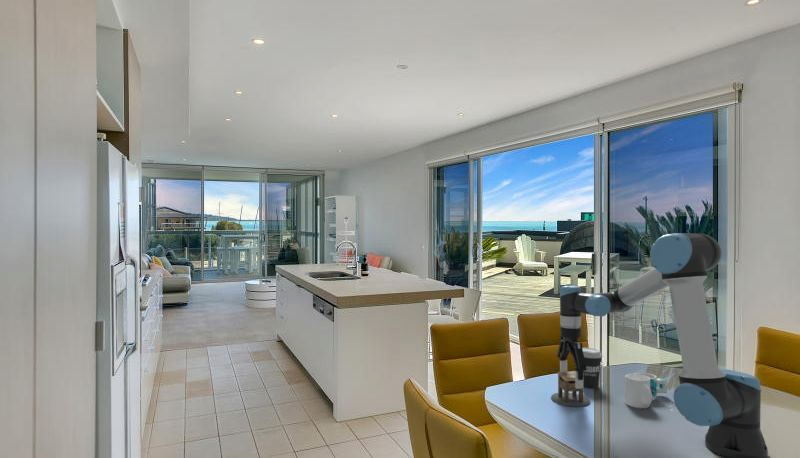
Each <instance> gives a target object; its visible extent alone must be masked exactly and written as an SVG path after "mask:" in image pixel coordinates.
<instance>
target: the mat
mask: <svg viewBox="0 0 800 458" xmlns="http://www.w3.org/2000/svg"><path fill="white" fill-rule="evenodd" d="M550 399H551V400H552V402H553V403H555V404H558V405H561V406H565V407H572V408H582V407H583V408H584V407H588V406H589V405H590V404H591V399H589V398H588V397H587V396H585V395H583V402H579V393H577V397H573V396H572V392H569V402H565V401H564V391H562V397H559V396H558V392H556V393H553V394H551V395H550Z"/></svg>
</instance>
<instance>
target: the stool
mask: <svg viewBox="0 0 800 458" xmlns="http://www.w3.org/2000/svg"><path fill="white" fill-rule="evenodd" d="M557 377H558V378H557V387H558V389H557V393H558V396H559V397H562V392H564V401H565V402H569V393H572V396H573V397H577V394H579V402H583V396H584V387H583V388H581V389H576V388H575V371H567V372H560V371H558V372H557ZM583 381H584V377H583ZM577 392H578V393H577Z"/></svg>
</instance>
